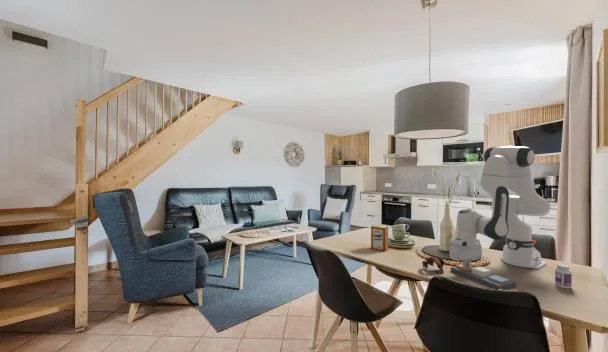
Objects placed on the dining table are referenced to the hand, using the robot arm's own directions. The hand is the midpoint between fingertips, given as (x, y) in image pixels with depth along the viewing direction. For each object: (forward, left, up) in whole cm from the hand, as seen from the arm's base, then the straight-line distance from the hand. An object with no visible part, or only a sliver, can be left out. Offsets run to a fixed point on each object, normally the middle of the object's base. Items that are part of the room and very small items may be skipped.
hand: (465, 266), depth 134 cm
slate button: (0, +16, -3) cm, 16 cm away
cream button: (0, +8, -1) cm, 8 cm away
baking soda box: (+16, -50, -3) cm, 53 cm away
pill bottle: (-26, +28, -3) cm, 38 cm away
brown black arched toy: (+13, -8, -3) cm, 16 cm away
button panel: (0, +8, -3) cm, 8 cm away
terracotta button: (0, 0, -3) cm, 3 cm away
